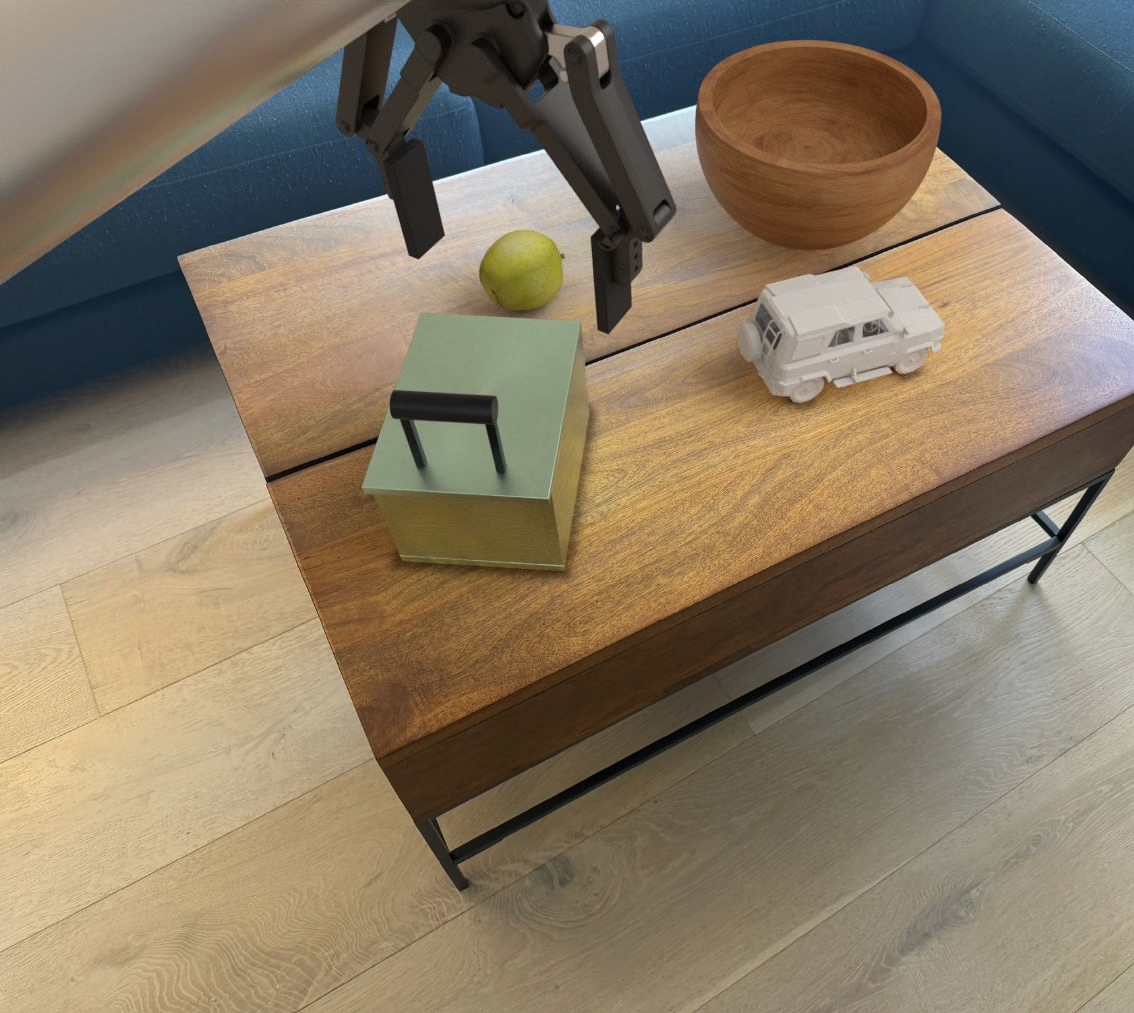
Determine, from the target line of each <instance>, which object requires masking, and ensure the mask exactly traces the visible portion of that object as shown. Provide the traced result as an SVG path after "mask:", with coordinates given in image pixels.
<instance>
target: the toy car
mask: <svg viewBox="0 0 1134 1013" xmlns="http://www.w3.org/2000/svg"><path fill="white" fill-rule="evenodd" d="M869 280H870V275H869V273H867V272H865V271H861V269H860V268H859V267H858V266H855V265H853V266H850V267H849V266H848V267H845V268H841V269H837V270H836V269H835V270H833V271H828V272H824V273H820V274H811V273H808V274H804V275H803V274H802V275H799V276H795V277H791V278H787V279H784V280H778V281H776V282H772V283H768V284H764V287H763V289H762V290H761V291H760V293H759V296H758V298H757V300H756V303H755V305H754V307H753V310H752V312H751V313H750V314H749V317H748V321H744V322H741V323H739V324H738V326H737V329H736V333H737V344H738V349H739V351H740V353H741V356H742V357H743V359H744V360H745V361H746V362H748V363H751V362H752V364H753V365H754V367H755V369H756V371H757V372H758V373H757V375H758V376H759V377H760V378H761V379H762V380H763V382H764V384H765V386H766V387H767V389H768V390H769V392H770V394H771V395H772V396H779V397H789V399H790V400H791V401H792V402H793V403H798V404H803V403H805V402H808V401H812V400H813V399H815V397H817V396H819V394H820V393H821V392H822V391H823V389H824V386H825V383H826V382H825V380H824V378H826V381H827V382H828V384H830V383H831V382H832V383H833V384H834V385H835V387H836V388H838V389H839V388H842V387H847V386H850V385H854V384H858V383H862V382H865V381H869V380H873V379H876V378H879V377H883V376H887V375H891V374H893V371H892V370H891V369H890V367H893V369H894V370H895V371H896V372H897V373H898V374H899V375H907V374H909V373H910V374H911V373H912V372H915V371H916V370H917V369H919V368H920V367H922V366H923V365H924V363H926V361H927V359H928V357H929V355H930V353H929V348H930V350H931V351H930V352H931V354H932V355H934V354H936V353H938V352H940V351H942V344H941V340H943V339H944V338H945V335H944V332H945V329H946V324H945V323H944V321H943V320H942V318H941V316H940V315H939V314H938V313H937V312H936V311H935V309H934V308H933V306H932V305H930V304H931V303H929V301H927V299H926V298H925V296H924V295H923V294H922V292H921V291H920V290H919V289H918V287H917V286H916V284H914V283H913V282H912V281H911V280H910V279H909V278H908V277H907V276H904V277H903V276H902V277H896V278H889V279H884V280H879V281H876V282H871V281H869ZM823 377H824V378H823Z"/></svg>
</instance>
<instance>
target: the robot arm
mask: <svg viewBox="0 0 1134 1013" xmlns="http://www.w3.org/2000/svg"><path fill="white" fill-rule="evenodd" d="M398 20H399V21H398ZM398 22H400V23H401V25H402V26H403V28H404V30H406V32H407V33H408V35H409V36H410V38H411V39H412V41H413V42H414V48H413V49H412V51H411V53H410V54H409V56H408V57H407V59H406V61H405V63H404V65H403V66H402V68H401V70H400V71H399V76H400V78H399V79H398V81H397V83H396V84H395V86H394V87H393V89H392V91H391V93H390V95H389V96H388V98H387V99H386V101H385V103H384V100H385V94H386V88H387V82H388V77H389V73H390V66H391V61H392V55H393V50H394V45H395V38H396V32H397V28H398ZM616 41H617V40H616V36H615V30H614V28H613V26H612V25H611V23H609V22H608V21H607V20H605V19H602V18H597V19H595V20H594V21H592V23H590V24H589V25H588V26H586V27H585V28H584V27H579V26H573V25H572V26H571V25H567V24H566V25H565V24H560V23H559V22H558V21H557V19H556V17H555V15H554V13H553V10H552V7H551V5H550V1H549V0H0V286H1V285H3V284H5V283H6V282H8V281H9V280H10V279H12V278H13V277H14V276H16V275H18V273H20V272H21V271H23V270H24V269H26V268H27V267H29V266H30V265H32V264H33V263H34V262H36V261H37V260H39V259H40V258H42V257H43V256H44V255H46V254H48V253H49V252H51V251H52V250H53V249H55V248H56V247H58V246H59V245H60V244H62V243H63V242H65V241H67V239H69V238H70V237H72V236H73V235H75V234H76V233H78V232H79V231H80V230H82V229H84V228H85V227H87V226H88V225H89V224H91V223H92V222H93V221H95V220H96V219H98V218H99V217H101V216H103V215H104V214H105V213H107V212H109V211H110V210H111V209H112V208H115V206H117V205H118V204H119V203H122V202H123V201H124V200H126V199H127V198H128V197H129V196H131V195H133V194H134V193H136V192H138V190H140V189H142V188H143V187H144V186H146V185H147V184H148V183H150V182H151V181H153V180H154V179H156V178H157V177H158V176H160V175H162V174H163V173H164V172H166V171H167V170H169V169H170V168H172V167H173V166H174V165H177V163H179V162H180V161H182V160H183V159H185V158H187V156H189V155H190V154H192V153H194V152H195V151H196V150H198V149H200V148H201V147H202V146H203V145H205V144H207V143H208V142H209V141H210V140H212V139H214V138H215V137H217V136H218V135H219V134H221V133H223V132H224V131H225V130H226V129H228V128H230V127H231V126H233V125H234V124H235V123H236V122H238V121H240V120H241V119H242V118H244V117H245V116H247V115H248V114H250V113H251V112H252V111H254V110H255V109H257V108H258V107H260V106H261V105H263V104H264V103H265V102H267V101H269V100H270V99H271V98H273V97H274V96H276V95H277V94H278V93H281V91H283V90H284V89H286V88H287V87H289V86H290V85H291V84H293V83H294V82H296V81H297V80H299V79H300V78H301V77H303V76H304V75H306V74H307V73H309V72H310V71H312V70H313V69H315V68H316V67H318V66H319V65H321V64H322V63H323V62H325V61H327V60H328V59H329V58H330V57H332V56H334V55H335V54H337V53H338V52H339V51H340V50H342V49H343V56H342V64H341V71H340V78H339V79H340V80H339V88H338V95H337V104H336V112H335V125H336V127H337V129H338V130H339V132H340V133H341V134H342V135H343V136H345V137H346V138H347V137H348V138H351V137H354V136H355V135H356V136H357V137H358V138H360V139H361V140H363V141H364V146H365V147H366V150H368V152H369V153H370V154H371V155H373V156H374V157H375V160H376V164H377V168H378V172H379V174H380V178H381V181H382V185H383V189H384V192H385V193H386V195H387V197H388V199H389V200H391V201H393V204H394V207H395V211H396V215H397V218H398V223H399V225H400V228H401V229H400V230H401V233H402V236H403V240H404V243H405V247H406V250H407V254H408V256H409V257H411V258H413V259H416V260H420V259H421V258H422V257H423V256H425V254H427V253H428V252H429V251H430V250H431V249H432V248H433V247H434V246H436V245H437V244H438V243H439V242H440V241H441V240H442V239H444V237H446V234H445V229H444V225H443V221H442V217H441V212H440V208H439V203H438V198H437V194H436V190H435V187H434V181H433V178H432V174H431V169H430V165H429V160H428V157H427V152H426V146H425V143H424V141H423V140H420V139H418V138H414V137H412V138H410V139H409V140H408V141H406V139H405V138H406V136H408V135H409V134H411V133H412V132H413V131H414V130H416V129H417V126H416V123H417V122H418V120H419V119H420V118H421V116H422V115H423V113H424V111H425V110H426V108H427V107H428V106H429V104H430V102H431V101H432V99H433V97H434V96H435V95H436V93H437V91H438V90H439V89H440V88H441V85H442V84H445V85H446V86H447V87H448V91H449V93H451V94H453V95H456V96H460V97H467V98H468V97H472V98H473V97H474V98H476V99H478V100H480V101H481V102H483V103H485V104H486V105H488V106H490V107H492V108H496V109H499V110H502V109H505V110H506V111H507V113H508V114H509V116H510V117H511V118H512V120H513V122H515V124H516V126H518V127H519V129H521V130H524V131H529V132H531V133H532V134H533V136H534V138H535V139H536V140H537V142H538V143H539V144H540V146H541V147H542V149H543V150H544V151H545V153H546V155H547V156H549V158H550V160H551V161H552V162H553V164H554V166H555V168H557V170H558V171H559V173H560V174H561V175H562V178H564V179H565V181H566V182H567V184H568V185H569V186H570V188H571V190H572V191H573V192H574V194H575V195H576V196H577V198H578V199H579V201H580V202H581V203H582V205H583V207H584V208H585V209H586V211H587V212H588V213H589V215H590V216H591V217H592V219H593V221H594V222H595V224H596V225H597V227H598V229H596V230H595V231H594V233H593V234H592V235H591V236H590V237H589V238H590V250H591V264H592V276H593V277H592V278H593V290H594V301H595V302H594V303H595V315H596V316H595V318H596V330H597V331H598V332H601V333H602V334H603V333H604V334H606V335H608V336H609V335H610V333H611V332H612V331H613V330H614V329H615V327H616V326H617V325H618V324H619V323H620V322H621V320H622V319H623V318H624V317H625V316H626V315H627V313H628V312H629V311H630V310H631V308H632V307H633V300H632V299H633V296H632V282H633V281H634V280H635V279H636V278H637V277H638V275H639V274H640V273H641V271H642V269H643V267H644V264H643V263H644V261H643V260H644V259H643V256H644V255H643V243H644V244H650V243H652V242H654V241H655V239H656V238H657V237H658V236H659V235H660V233H662V231H663V230H664V229H665V227H666V226H667V225H668V224H669V223H670V222H671V220H672V219H673V218H674V217H675V216H676V215H677V211H678V209H677V205H676V202H675V200H674V198H673V195H672V193H671V190H670V188H669V186H668V183H667V181H666V179H665V176H664V173H663V171H662V169H661V167H660V164H659V162H658V160H657V158H656V154H655V153H654V149H653V147H652V145H651V143H650V141H649V139H648V136H647V133H646V131H645V129H644V126H643V124H642V121H641V119H640V117H639V114H638V112H637V109H636V107H635V105H634V102H633V99H632V98H631V96H630V93H629V90H628V88H627V86H626V83H625V82H624V79H623V76H622V74H621V72H620V63H619V58H618V49H617V42H616ZM538 81H539V82H540V84H541V85H542V87H543V94H541V96H539V97H538V98H537V99H536V100H534V101H533V100H532V99H531V98H530V97H529V96H528V95H527V94H528V93H529V92H531V90H532V89H534V87H535V85H536V83H537V82H538ZM617 207H618V209H617Z"/></svg>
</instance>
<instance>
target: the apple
mask: <svg viewBox="0 0 1134 1013" xmlns="http://www.w3.org/2000/svg"><path fill="white" fill-rule="evenodd" d="M565 258H566V255H565V253H564V252H562V253H561V252H560V250H559V248H558V246H557V245H556V243H555V242H554V241H553V240H552V239H551V238H550V237H548V236H547V235H545V234H543V233H541V232H539V231H536V230H531V229H518V230H512V231H509V232H508V233H505V234H504V235H502V236H501V237H499V238H498V239H496V240H495V241H494V242H493V243H492V244H491V245H490V246H489V248H488V249H487V251H486V252H485V253H484V255H483V257H482V259H481V262H480V264H479V267H478V268H479V269H478V277H479V278H478V279H479V283H480V284H481V286H482V287H483V289H484V291H485V292H486V294H487V295H488V297H489V298H490V299H491V300H492V301H493V302H494V303H495V304H496V305H497V306H499V307H501V308H503V309H505V310H509V311H527V310H534V309H538V308H540V307H543V306H545V305H547V304H548V303H550V302H551V301H552V300H554V298H556V297H557V295H558V294H559V292H560V290H561V288H562V285H563V282H564V270H563V269H564V268H563V260H564V259H565Z"/></svg>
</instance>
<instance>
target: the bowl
mask: <svg viewBox="0 0 1134 1013" xmlns="http://www.w3.org/2000/svg"><path fill="white" fill-rule="evenodd" d="M941 126H942V109H941V104H940V101H939V97H938V95H937V94H936V92H935V91H934V89H933V88H932V87H931V85H930V84H929V83H928V82H927V81H926V80H925V79H924V78H923V77H922V76H921V75H920V74H918V73H917V72H916V71H915V70H913V69H912V68H910V67H909V66H907V65H906V64H904V63H902V62H901V61H898V60H897V59H894V58H893V57H890V56H888V55H886V54H883V53H881V52H878V51H875V50H872V49H869V48H866V47H862V46H859V45H853V44H849V43H843V42H837V41H829V40H816V39H815V40H814V39H797V40H796V39H794V40H783V41H774V42H769V43H763V44H759V45H756V46H752V47H749V48H746V49H743V50H741V51H738V52H736V53H734V54H732V55H730V56H728V57H726V58H725V59H723V60H721V61H720V62H718V63H717V64H716V65H714V67H713V68H712V69H711V70H710V71H709V72H708V73H707V75H705V77H704V79H703V80H702V82H701V84H700V87H699V91H698V95H697V99H696V106H695V117H694V135H695V145H696V151H697V156H698V160H699V164H700V168H701V171H702V173H703V176H704V178H705V181H706V183H707V185H708V187H709V189H710V191H711V193H712V194H713V196H714V198H715V199H716V201H717V203H718V204H719V205H720V206H721V208H722V209H723V210H724V211H725V212H726V214H727V215H728V216H729V217H730V218H732V220H734V222H736V223H737V225H739V226H740V227H742V228H743V229H744V230H745V231H747V232H748V233H750V234H752V235H754V236H755V237H757V238H758V239H760V240H763V241H765V242H767V243H770V244H773V245H776V246H779V247H781V248H782V247H783V248H786V249H791V250H799V251H821V250H830V249H835V248H839V247H843V246H846V245H849V244H852V243H855V242H857V241H859V240H862V239H864V238H866V237H868V236H870V235H871V234H873V233H875V232H876V231H878V230H879V229H881V228H882V227H884V226H886V225H887V223H889V222H890V221H892V220H893V219H894V217H896V216H897V215H898V214H899V213H900V212H901V211H902V210H903V209H904V208H905V207H906V205H907V204H908V203H909V202H910V201H911V199H912V198H913V197H914V195H915V194H916V192H917V191H918V190H919V188H920V186H921V185H922V183H923V180H924V179H925V177H926V176H927V173H928V172H929V169H930V167H931V164H932V161H933V160H934V156H935V153H936V150H937V146H938V142H939V139H940V138H939V137H940V132H941Z"/></svg>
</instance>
